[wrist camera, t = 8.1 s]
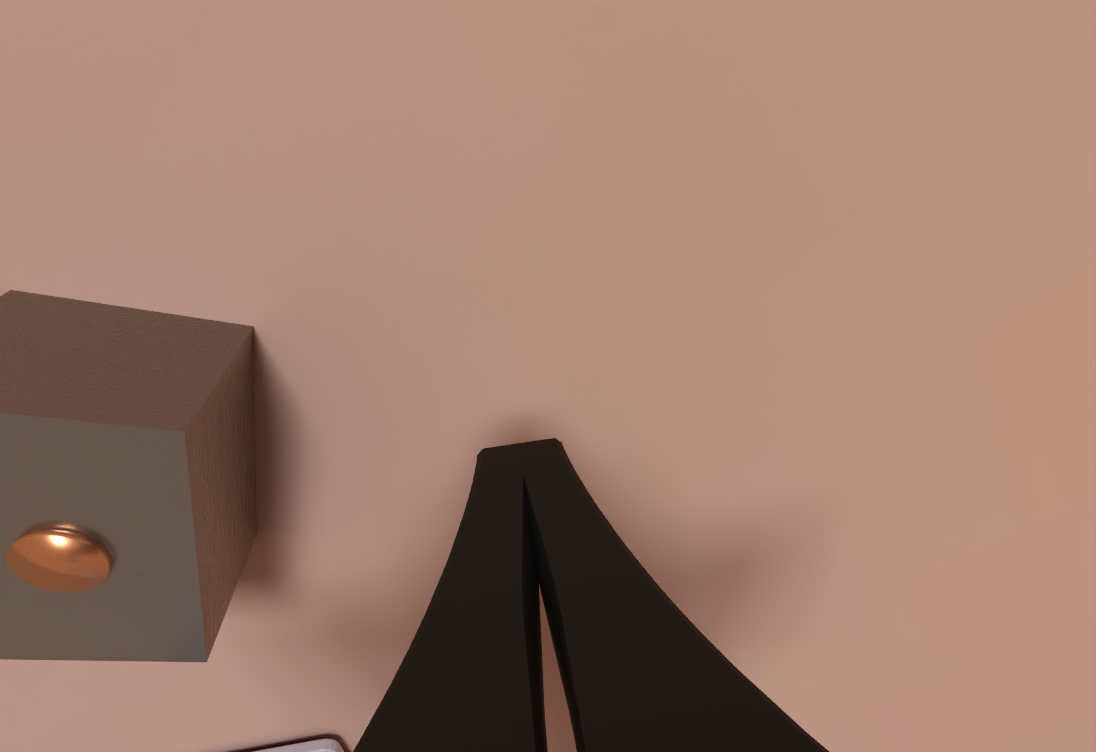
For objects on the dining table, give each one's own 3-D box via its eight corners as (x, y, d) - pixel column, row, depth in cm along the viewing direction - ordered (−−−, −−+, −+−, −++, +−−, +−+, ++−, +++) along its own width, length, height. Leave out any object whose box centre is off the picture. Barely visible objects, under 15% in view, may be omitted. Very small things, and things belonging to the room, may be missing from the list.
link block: (258, 528, 14) (203, 669, 11) (74, 516, 13) (-40, 666, 10) (256, 322, 11) (180, 438, 8) (16, 286, 10) (-169, 402, 7)
